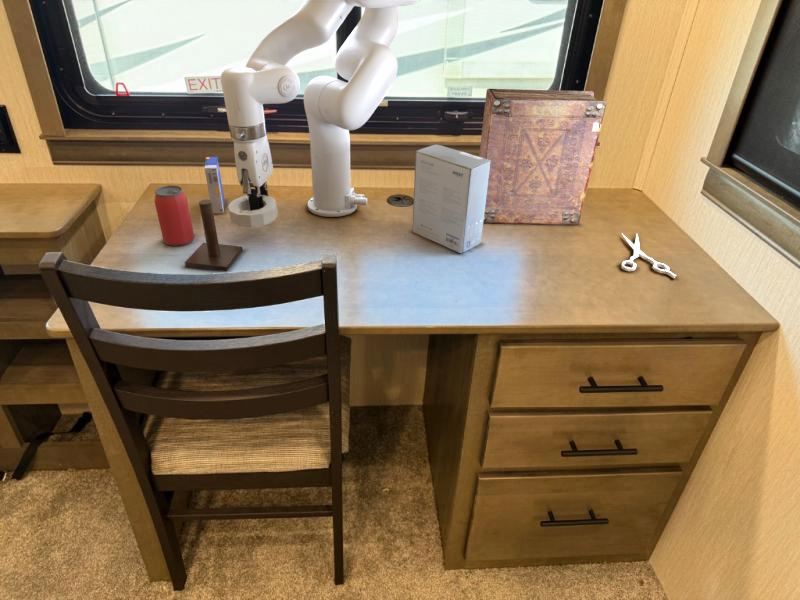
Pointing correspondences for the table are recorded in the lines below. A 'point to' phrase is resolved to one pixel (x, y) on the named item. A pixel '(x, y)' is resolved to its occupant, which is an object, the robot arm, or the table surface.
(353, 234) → the table surface
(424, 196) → the hard drive box
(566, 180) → the book
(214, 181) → the walkman
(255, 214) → the tape roll
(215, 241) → the spindle
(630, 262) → the scissors
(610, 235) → the table surface
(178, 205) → the beer can
